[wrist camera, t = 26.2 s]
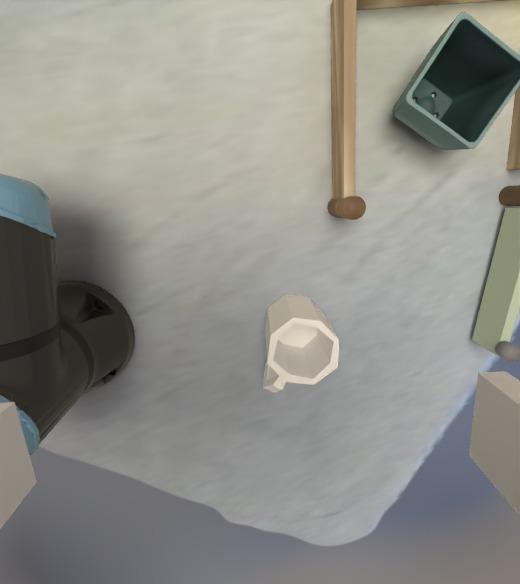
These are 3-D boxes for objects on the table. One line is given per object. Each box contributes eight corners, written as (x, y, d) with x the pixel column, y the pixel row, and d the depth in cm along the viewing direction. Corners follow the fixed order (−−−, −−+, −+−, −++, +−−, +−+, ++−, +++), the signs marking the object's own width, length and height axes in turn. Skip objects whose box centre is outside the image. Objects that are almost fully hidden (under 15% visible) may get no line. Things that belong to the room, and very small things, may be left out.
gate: (502, 207, 43) (546, 208, 37) (518, 208, 44) (564, 210, 37) (469, 339, 48) (502, 361, 41) (483, 340, 48) (519, 362, 42)
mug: (281, 283, 47) (287, 304, 37) (335, 311, 48) (355, 338, 38) (241, 355, 49) (238, 392, 40) (294, 380, 50) (303, 422, 41)
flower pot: (417, 49, 40) (463, 7, 31) (475, 94, 41) (535, 65, 32) (372, 120, 42) (403, 99, 33) (429, 161, 43) (474, 150, 34)
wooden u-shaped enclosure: (327, 216, 44) (343, 220, 37) (325, -1, 38) (343, -53, 31) (516, 204, 44) (571, 205, 37) (544, -16, 38) (617, -70, 31)
